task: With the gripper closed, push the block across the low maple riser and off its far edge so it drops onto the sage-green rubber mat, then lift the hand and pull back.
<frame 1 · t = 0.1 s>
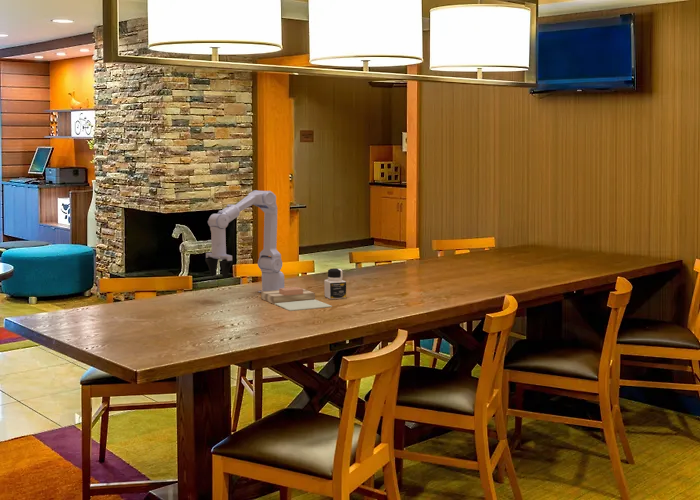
hand: (219, 276, 367), 10 cm above the table, tool pointing down, fingers open, 7 cm apart
riser: (287, 299, 371), on the table
mat: (302, 305, 358), on the table
medicine bottle: (335, 297, 376), on the table
block: (291, 293, 368), point 3 cm above the table, touching riser
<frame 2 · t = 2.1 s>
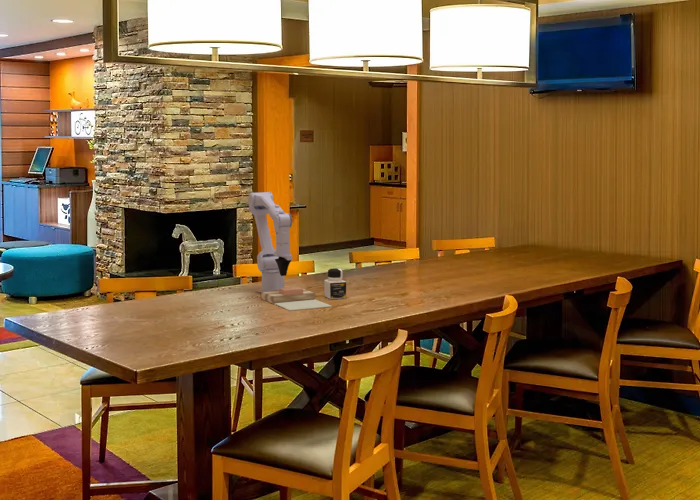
hand: (283, 275, 374), 9 cm above the table, tool pointing down, fingers closed
nothing on the table moved.
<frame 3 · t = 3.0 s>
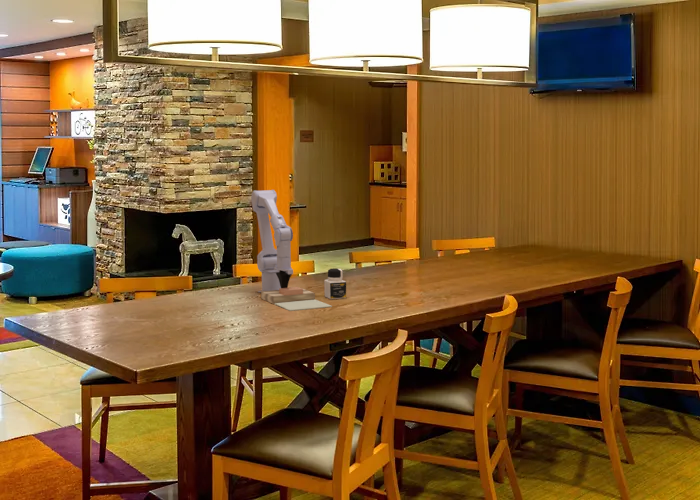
hand: (284, 289, 374), 4 cm above the table, tool pointing down, fingers closed
nothing on the table moved.
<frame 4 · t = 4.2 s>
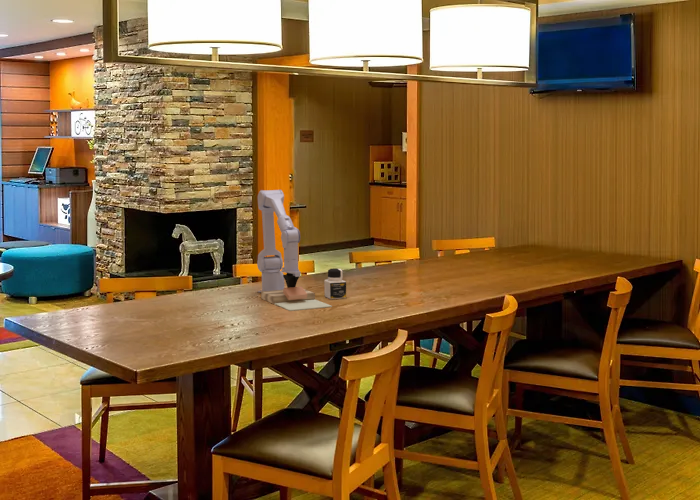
hand: (291, 292, 367), 4 cm above the table, tool pointing down, fingers closed
block: (294, 295, 364), point 3 cm above the table, tilted 23°
everything else where it was.
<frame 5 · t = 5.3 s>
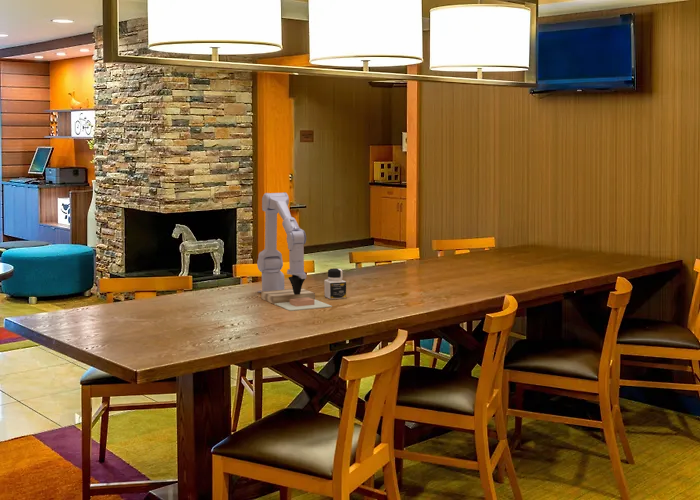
hand: (297, 294, 362), 4 cm above the table, tool pointing down, fingers closed
block: (302, 299, 358), point 2 cm above the table, tilted 180°, touching mat
everything else where it was.
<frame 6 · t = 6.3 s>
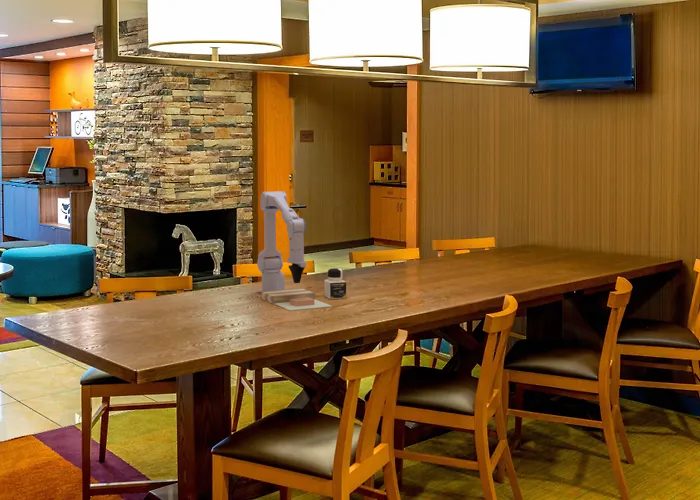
hand: (296, 282, 362), 8 cm above the table, tool pointing down, fingers closed
nothing on the table moved.
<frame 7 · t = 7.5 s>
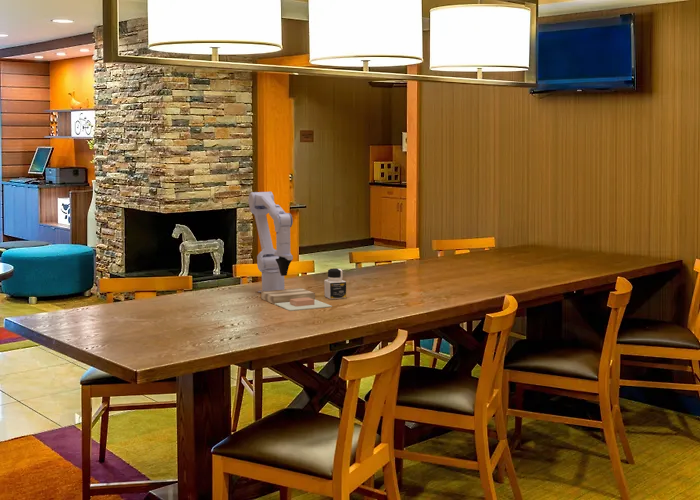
hand: (283, 275, 374), 9 cm above the table, tool pointing down, fingers closed
nothing on the table moved.
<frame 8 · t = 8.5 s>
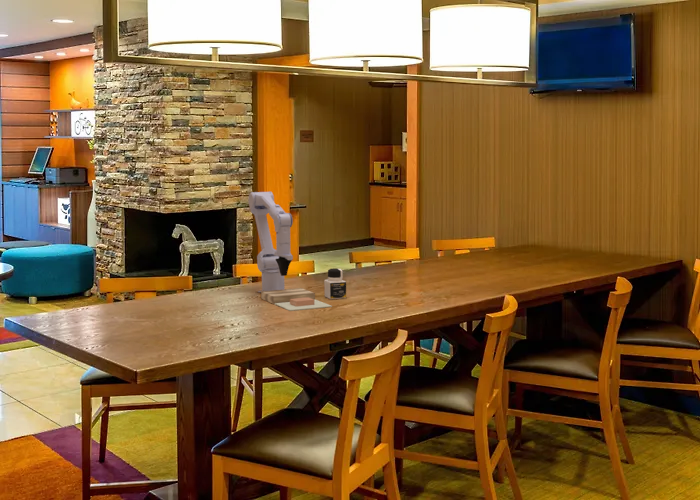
hand: (283, 275, 374), 9 cm above the table, tool pointing down, fingers closed
nothing on the table moved.
at the end: block point 2.4 cm above the table; block 0.7 cm from the mat (horizontally); block touching mat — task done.
